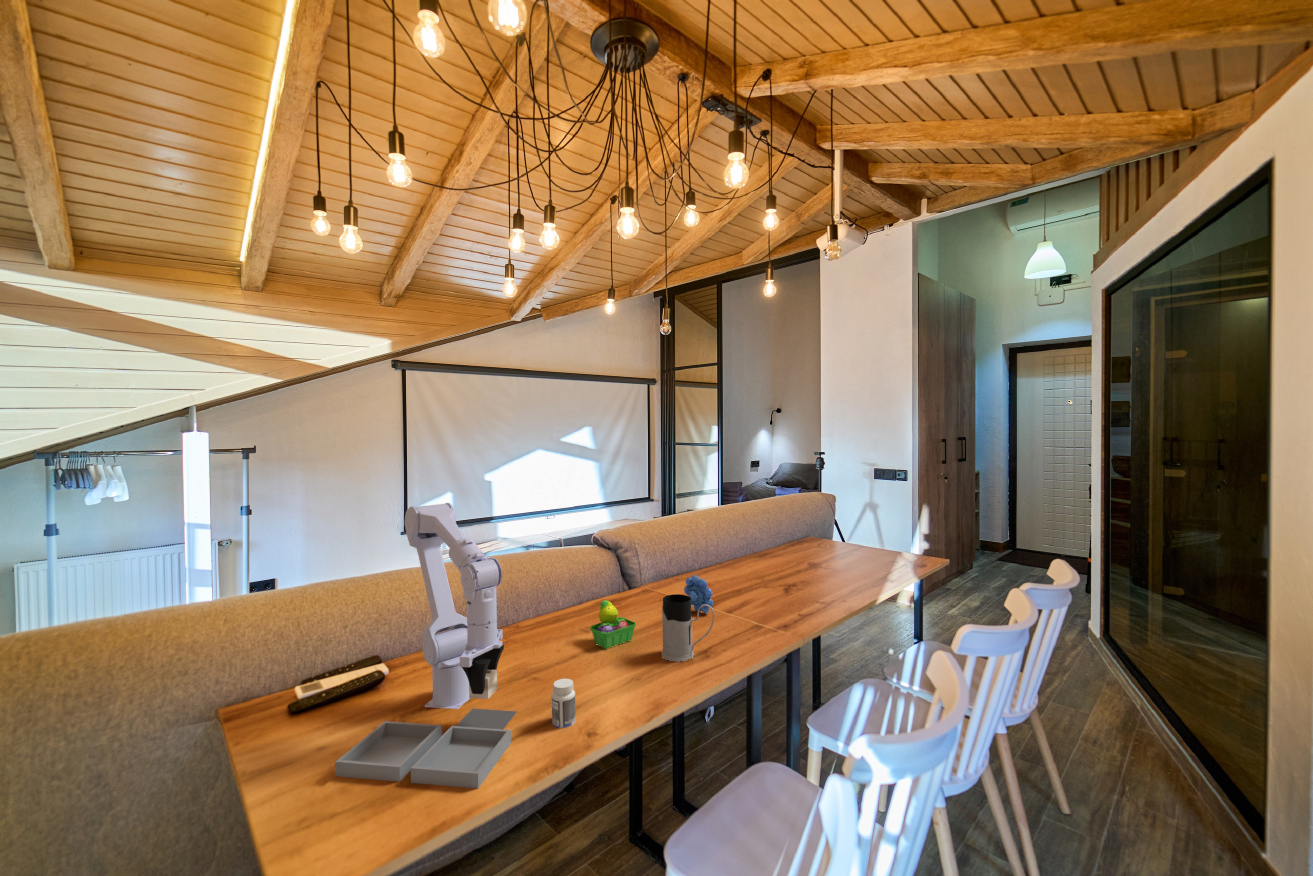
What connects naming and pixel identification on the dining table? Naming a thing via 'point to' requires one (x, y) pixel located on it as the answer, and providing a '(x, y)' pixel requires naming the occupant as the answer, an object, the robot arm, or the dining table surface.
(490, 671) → the letter cube
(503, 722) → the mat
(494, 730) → the tray
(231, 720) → the dining table surface
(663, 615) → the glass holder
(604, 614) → the fruit basket
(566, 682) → the pill bottle
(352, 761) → the tray
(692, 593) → the grapes
